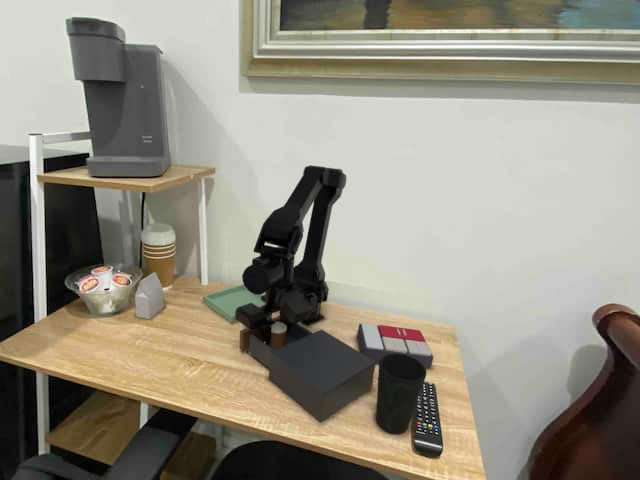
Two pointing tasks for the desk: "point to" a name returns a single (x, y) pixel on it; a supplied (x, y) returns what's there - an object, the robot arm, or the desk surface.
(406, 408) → the cup
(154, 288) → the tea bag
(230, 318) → the tray
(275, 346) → the pod
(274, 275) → the robot arm
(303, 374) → the dark grey box
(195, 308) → the desk surface
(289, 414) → the desk surface
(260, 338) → the drawer
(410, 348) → the red and grey box
